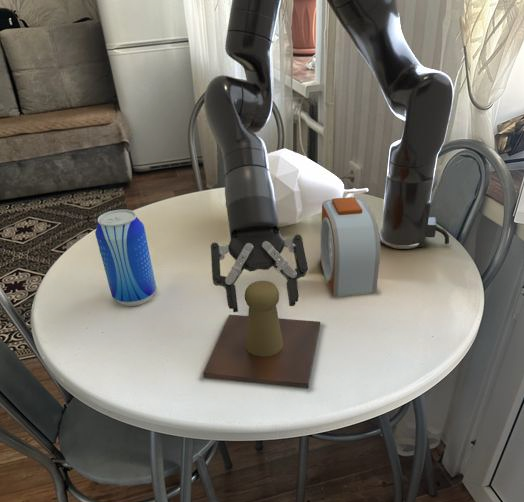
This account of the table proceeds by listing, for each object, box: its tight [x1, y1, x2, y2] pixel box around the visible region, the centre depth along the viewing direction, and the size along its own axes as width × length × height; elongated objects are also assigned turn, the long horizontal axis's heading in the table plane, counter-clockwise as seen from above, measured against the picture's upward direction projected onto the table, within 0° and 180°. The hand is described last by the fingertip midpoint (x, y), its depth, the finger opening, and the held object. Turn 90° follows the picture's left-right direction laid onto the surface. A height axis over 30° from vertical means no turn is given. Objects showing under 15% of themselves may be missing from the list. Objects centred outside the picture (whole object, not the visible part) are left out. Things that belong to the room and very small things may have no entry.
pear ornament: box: [267, 147, 369, 228], centre depth 117 cm, size 16×22×28 cm
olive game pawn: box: [243, 280, 283, 357], centre depth 77 cm, size 6×6×11 cm
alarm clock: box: [319, 196, 381, 298], centre depth 95 cm, size 15×8×14 cm, turn 5°
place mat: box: [202, 314, 321, 389], centre depth 81 cm, size 16×16×1 cm
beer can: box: [94, 209, 157, 307], centre depth 91 cm, size 8×8×16 cm
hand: (264, 308), depth 74 cm, fingers open, 8 cm apart
